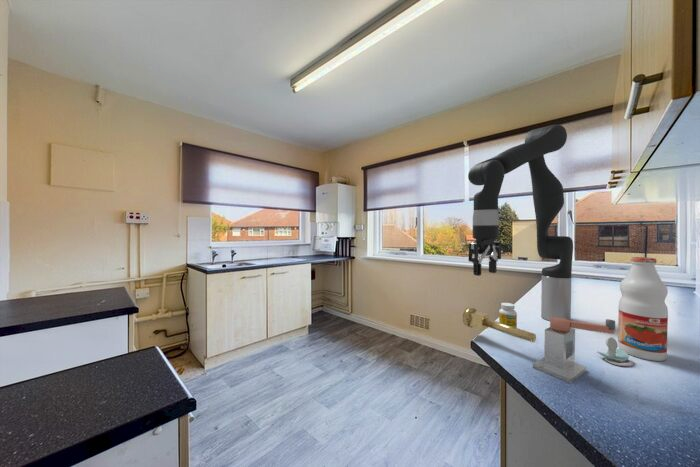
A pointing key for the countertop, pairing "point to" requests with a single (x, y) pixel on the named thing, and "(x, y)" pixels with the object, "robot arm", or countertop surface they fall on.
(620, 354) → the pacifier
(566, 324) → the lock lever
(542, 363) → the eye bracket
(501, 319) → the supplement bottle
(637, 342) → the fruit juice
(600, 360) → the countertop surface
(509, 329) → the gold bolt
